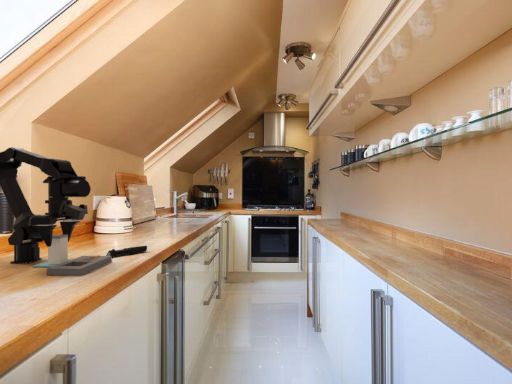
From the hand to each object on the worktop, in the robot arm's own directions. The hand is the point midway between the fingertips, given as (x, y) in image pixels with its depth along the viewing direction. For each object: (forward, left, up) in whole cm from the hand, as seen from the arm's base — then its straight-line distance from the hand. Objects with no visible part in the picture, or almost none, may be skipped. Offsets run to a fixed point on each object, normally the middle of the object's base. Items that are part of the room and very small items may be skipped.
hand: (58, 244), depth 104 cm
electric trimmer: (+16, +17, -7) cm, 24 cm away
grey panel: (+11, -5, -7) cm, 14 cm away
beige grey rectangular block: (0, 0, -6) cm, 6 cm away
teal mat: (0, 0, -7) cm, 7 cm away
